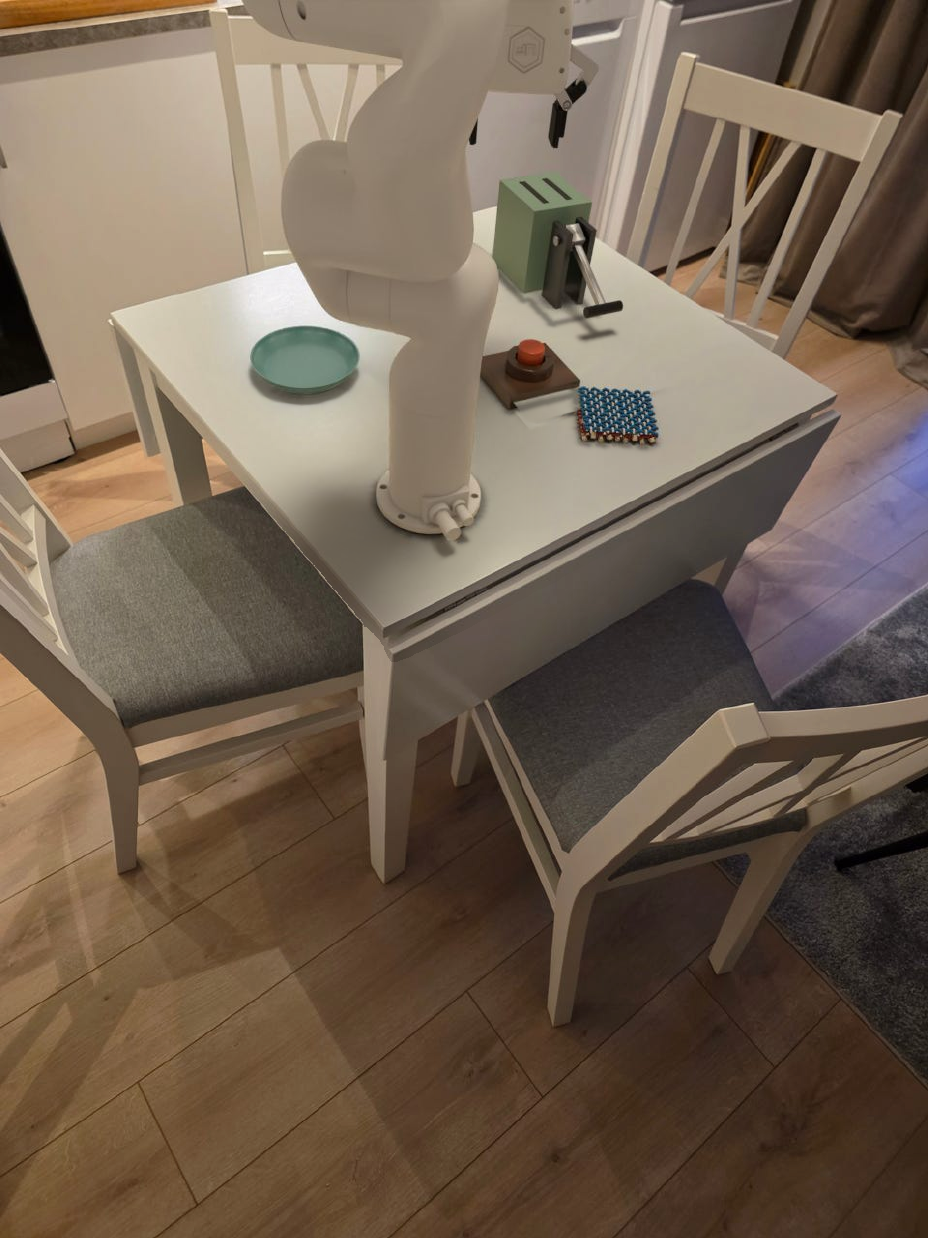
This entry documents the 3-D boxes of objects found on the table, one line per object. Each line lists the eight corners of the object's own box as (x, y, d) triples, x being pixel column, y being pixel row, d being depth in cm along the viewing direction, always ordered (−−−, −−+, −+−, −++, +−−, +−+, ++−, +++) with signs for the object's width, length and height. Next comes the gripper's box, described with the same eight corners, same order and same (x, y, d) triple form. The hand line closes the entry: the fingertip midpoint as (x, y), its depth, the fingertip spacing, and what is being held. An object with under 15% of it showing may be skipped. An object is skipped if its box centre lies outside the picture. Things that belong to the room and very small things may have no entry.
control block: (577, 393, 115) (583, 368, 112) (509, 410, 111) (512, 385, 108) (543, 355, 120) (547, 330, 117) (476, 370, 117) (478, 345, 114)
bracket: (595, 315, 129) (612, 233, 119) (551, 324, 126) (565, 242, 116) (569, 289, 133) (583, 209, 123) (526, 298, 130) (537, 217, 121)
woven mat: (572, 394, 115) (574, 382, 113) (646, 399, 115) (650, 387, 114) (578, 442, 108) (580, 429, 106) (657, 447, 109) (661, 434, 107)
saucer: (230, 367, 113) (227, 349, 111) (315, 330, 120) (314, 313, 118) (297, 417, 107) (295, 400, 105) (381, 375, 114) (381, 359, 112)
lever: (618, 314, 122) (625, 305, 119) (584, 322, 120) (591, 312, 117) (583, 231, 123) (589, 221, 121) (548, 237, 121) (554, 226, 119)
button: (547, 363, 113) (550, 350, 111) (525, 369, 112) (526, 355, 110) (535, 349, 115) (537, 336, 113) (512, 354, 113) (514, 341, 112)
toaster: (576, 290, 133) (592, 201, 122) (522, 300, 130) (534, 210, 119) (542, 258, 139) (555, 171, 128) (490, 267, 136) (499, 178, 125)
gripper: (448, -36, 80) (440, 152, 93) (621, -25, 81) (590, 158, 95) (443, -56, 84) (437, 125, 98) (607, -46, 86) (579, 131, 99)
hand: (512, 141), depth 96 cm, fingers open, 9 cm apart
